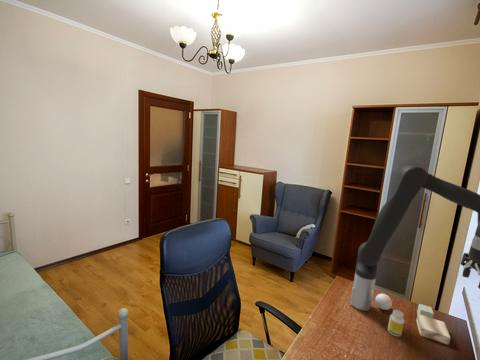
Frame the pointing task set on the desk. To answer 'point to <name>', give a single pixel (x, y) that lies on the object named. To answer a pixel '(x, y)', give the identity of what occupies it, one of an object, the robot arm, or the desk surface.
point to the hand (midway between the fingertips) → (473, 282)
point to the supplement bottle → (396, 323)
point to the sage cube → (425, 311)
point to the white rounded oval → (383, 301)
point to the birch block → (433, 329)
